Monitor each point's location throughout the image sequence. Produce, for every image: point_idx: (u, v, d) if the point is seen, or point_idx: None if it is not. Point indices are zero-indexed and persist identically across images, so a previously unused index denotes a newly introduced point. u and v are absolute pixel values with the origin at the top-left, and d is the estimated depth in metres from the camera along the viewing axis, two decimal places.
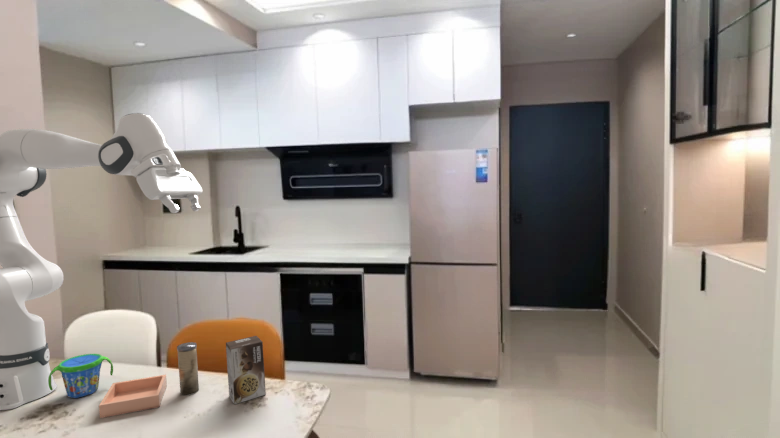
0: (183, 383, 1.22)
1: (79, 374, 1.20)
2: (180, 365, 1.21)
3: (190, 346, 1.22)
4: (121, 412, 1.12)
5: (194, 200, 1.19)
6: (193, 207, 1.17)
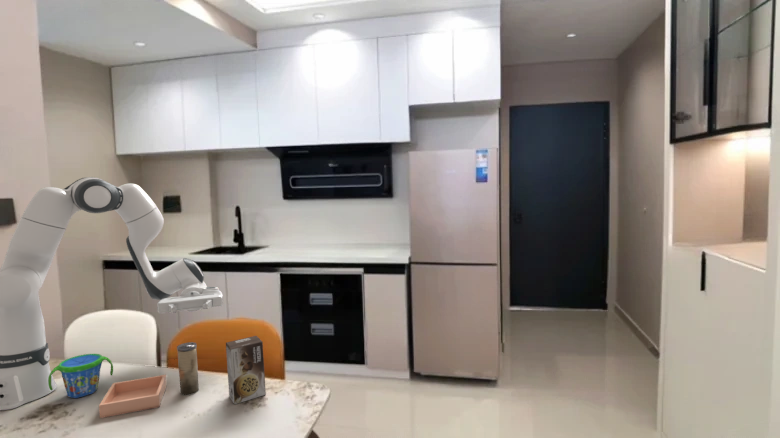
0: (183, 383, 1.22)
1: (79, 374, 1.20)
2: (180, 365, 1.21)
3: (190, 346, 1.22)
4: (121, 412, 1.12)
5: None
6: (176, 308, 1.34)
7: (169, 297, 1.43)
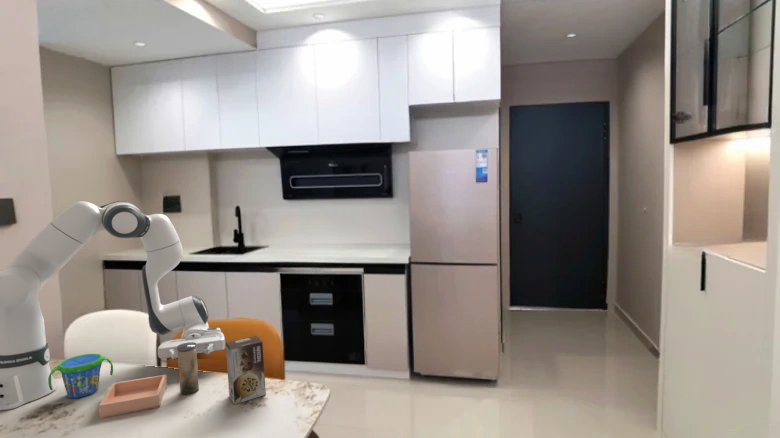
0: (183, 383, 1.22)
1: (79, 374, 1.20)
2: (180, 365, 1.21)
3: (190, 346, 1.22)
4: (121, 412, 1.12)
5: None
6: (176, 354, 1.32)
7: (170, 340, 1.40)
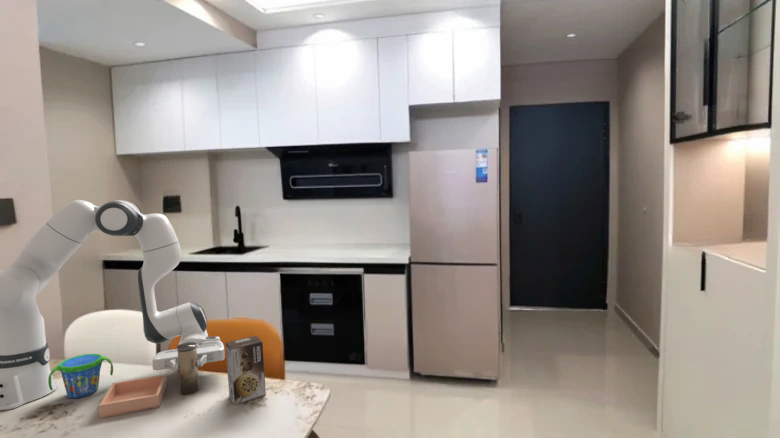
0: (183, 383, 1.22)
1: (79, 374, 1.20)
2: (180, 365, 1.21)
3: (190, 346, 1.22)
4: (121, 412, 1.12)
5: None
6: (178, 365, 1.23)
7: (165, 350, 1.31)
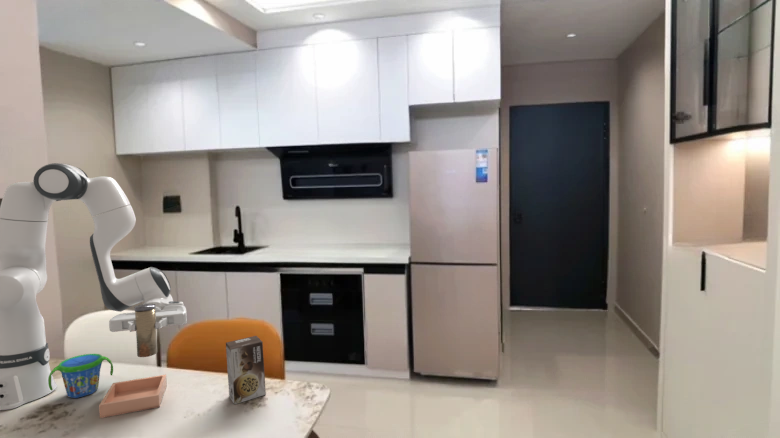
0: (139, 345, 1.17)
1: (79, 374, 1.20)
2: (137, 326, 1.17)
3: (148, 306, 1.18)
4: (121, 412, 1.12)
5: None
6: (135, 326, 1.18)
7: (125, 313, 1.26)
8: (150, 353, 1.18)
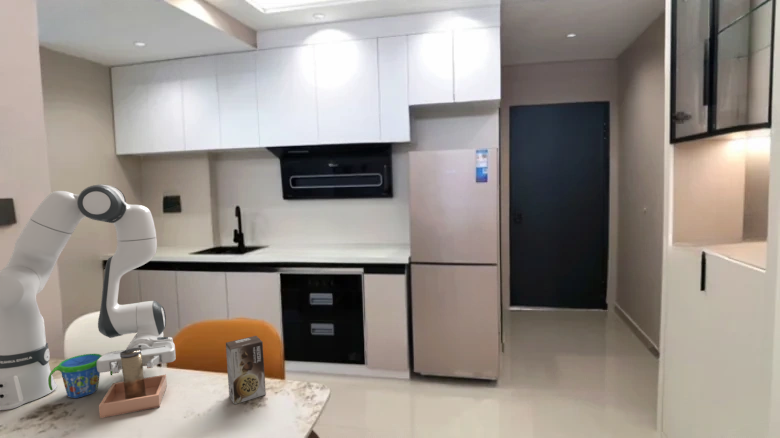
0: (127, 391, 1.17)
1: (79, 374, 1.20)
2: (123, 372, 1.16)
3: (134, 352, 1.17)
4: (121, 412, 1.12)
5: None
6: (118, 367, 1.17)
7: None
8: None
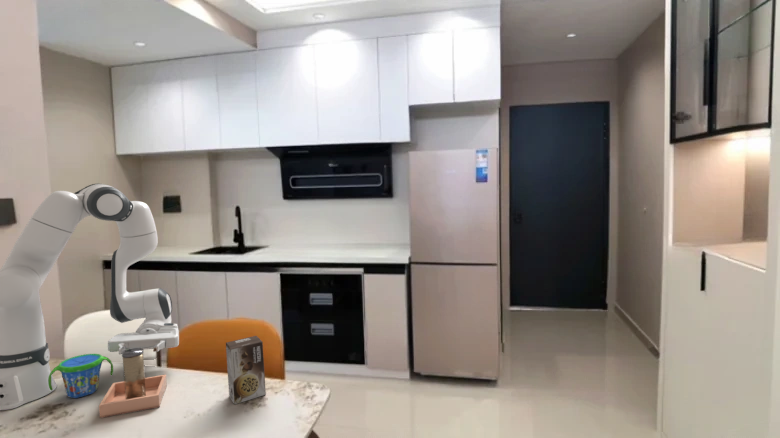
0: (128, 391, 1.17)
1: (79, 374, 1.20)
2: (125, 372, 1.16)
3: (136, 352, 1.17)
4: (121, 412, 1.12)
5: None
6: (124, 349, 1.29)
7: (124, 333, 1.38)
8: None
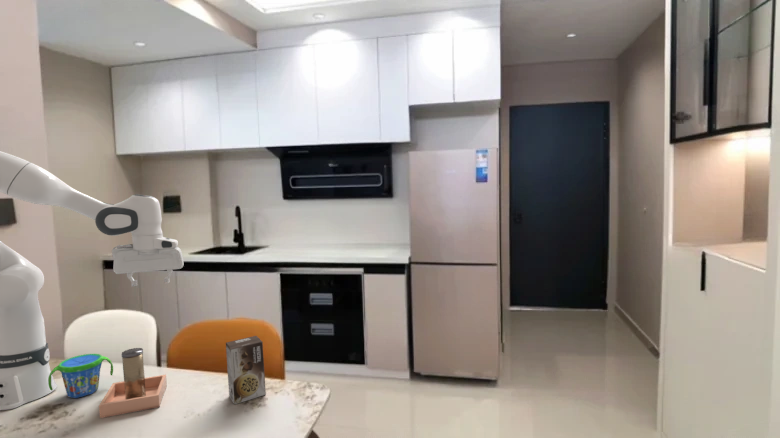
0: (127, 391, 1.17)
1: (79, 374, 1.20)
2: (124, 372, 1.16)
3: (135, 352, 1.17)
4: (121, 412, 1.12)
5: (131, 276, 1.36)
6: (136, 282, 1.37)
7: (122, 251, 1.33)
8: None
